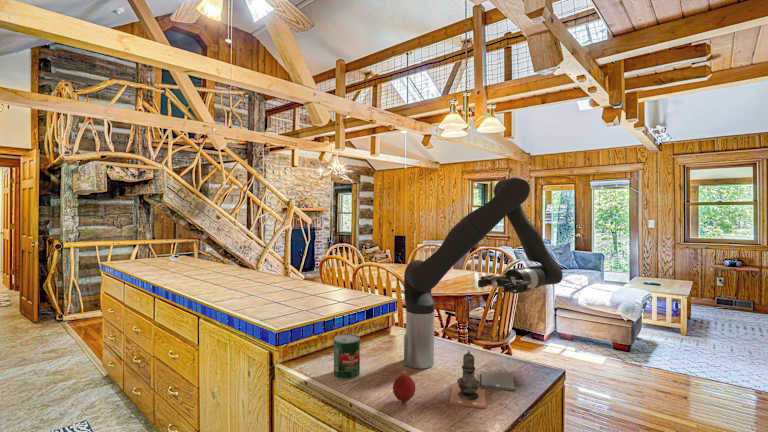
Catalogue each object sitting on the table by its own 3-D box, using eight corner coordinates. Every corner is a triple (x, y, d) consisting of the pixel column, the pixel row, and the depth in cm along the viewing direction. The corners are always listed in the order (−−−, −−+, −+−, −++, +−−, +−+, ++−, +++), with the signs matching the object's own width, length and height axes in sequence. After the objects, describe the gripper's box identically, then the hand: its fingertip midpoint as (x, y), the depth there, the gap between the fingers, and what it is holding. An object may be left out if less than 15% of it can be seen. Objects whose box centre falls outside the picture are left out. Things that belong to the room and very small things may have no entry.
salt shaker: (471, 403, 98) (472, 356, 98) (452, 394, 102) (453, 350, 102) (483, 395, 102) (484, 350, 102) (465, 387, 106) (465, 345, 106)
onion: (408, 410, 95) (408, 378, 95) (388, 403, 98) (389, 372, 98) (418, 400, 100) (419, 370, 100) (399, 394, 103) (400, 365, 103)
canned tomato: (345, 366, 121) (345, 332, 121) (365, 372, 116) (365, 337, 116) (328, 375, 115) (328, 338, 114) (347, 382, 110) (348, 344, 110)
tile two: (449, 403, 99) (449, 401, 99) (452, 387, 107) (452, 385, 107) (485, 408, 96) (485, 406, 96) (485, 392, 105) (485, 389, 105)
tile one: (481, 386, 108) (481, 384, 108) (481, 373, 117) (481, 371, 117) (514, 390, 106) (514, 388, 106) (512, 377, 115) (512, 375, 115)
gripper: (501, 265, 127) (471, 270, 116) (542, 271, 116) (513, 276, 105) (500, 287, 127) (471, 294, 116) (542, 295, 116) (513, 303, 106)
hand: (491, 286), depth 111 cm, fingers open, 8 cm apart
